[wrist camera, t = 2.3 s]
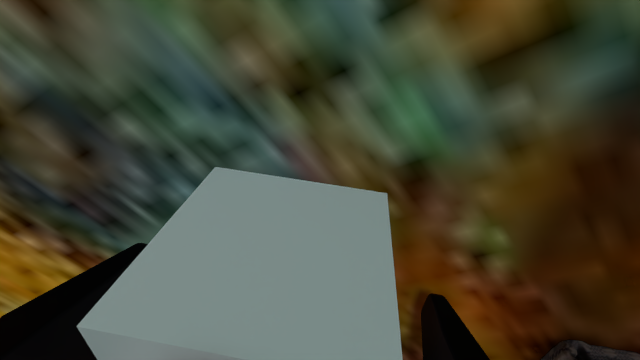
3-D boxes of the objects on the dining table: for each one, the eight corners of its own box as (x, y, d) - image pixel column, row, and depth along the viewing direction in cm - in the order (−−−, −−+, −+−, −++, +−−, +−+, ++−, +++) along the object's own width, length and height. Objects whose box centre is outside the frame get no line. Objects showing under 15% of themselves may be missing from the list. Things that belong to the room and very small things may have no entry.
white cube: (386, 191, 9) (405, 391, 5) (358, 300, 12) (352, 486, 8) (216, 165, 10) (76, 326, 5) (229, 277, 13) (149, 441, 8)
